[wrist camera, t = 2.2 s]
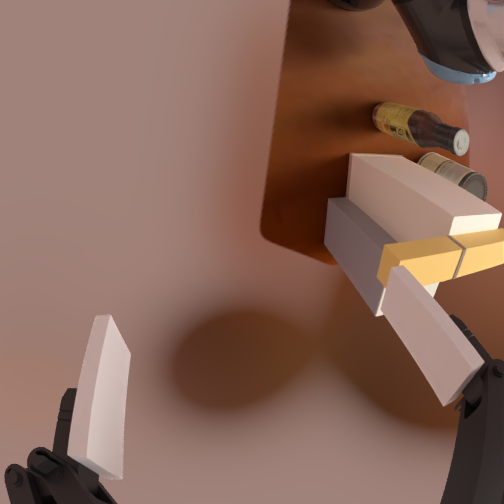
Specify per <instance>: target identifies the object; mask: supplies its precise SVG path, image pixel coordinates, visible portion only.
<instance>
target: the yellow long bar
mask: <svg viewBox="0 0 504 504" xmlns="http://www.w3.org/2000/svg"><path fill="white" fill-rule="evenodd" d="M503 263H504V228H502V229H494V230H487V231H480V232H473V233H466V234H459V235H452V236H451V235H449V236H445V237H437V238H430V239H423V240H415V241H408V242H400V243H393V244H385V245H384V248H383V253H382V257H381V261H380V265H379V269H378V273H377V278H378V279H379V281H380V282H381V283H382V284H383V286H384V287H385V288H386V286H387V282H388V279H389V274H390V270H391V268H392V267H397V266H401V265H404V267H405V268H406V269H407V270H408V271H409V272H410V273H411V274H412V275H413V276H414V277H415V278H416V279H417V280H418V282H419V283H420V284H421V285H422V286H426V285H430V284H434V283H438V282H442V281H445V280H449V279H455V278H456V277H460V276H463V275H467V274H470V273H474V272H477V271H480V270H484V269H487V268H490V267H494V266H497V265H500V264H503Z"/></svg>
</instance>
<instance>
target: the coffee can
mask: <svg viewBox="0 0 504 504" xmlns="http://www.w3.org/2000/svg"><path fill="white" fill-rule="evenodd" d="M417 164H418V165H420V166H422V167H424V168H426V169H428V170H430V171H432V172H434V173H436V174H438V175H440V176H441V177H443V178H445V179H447V180H449V181H451V182H452V183H454V184H456V185H458V186H459V187H461V188H463V189H464V190H466V191H468V192H470V193H471V194H473V195H475V196H476V197H478V198H479V199H481V200H483V201H484V202H485V200H486V195H487V182H486V180H485V177H484V176H483V175H482V174H480V173H478V172H475V171H473V170H471V169H469V168H467V167H465V166H463V165H461V164H459V163H456V162H454V161H452V160H450V159H448V158H445V157H443V156H441V155H439V154H437V153H434V152H429V153H427V154H425V155H424V156H422V157H421V158H420V160H419V161H418V163H417Z"/></svg>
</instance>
